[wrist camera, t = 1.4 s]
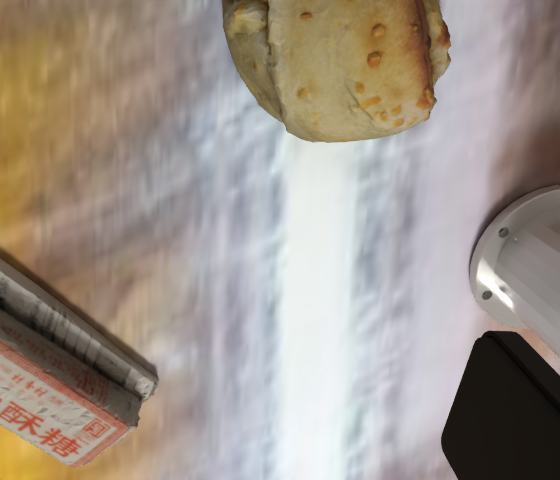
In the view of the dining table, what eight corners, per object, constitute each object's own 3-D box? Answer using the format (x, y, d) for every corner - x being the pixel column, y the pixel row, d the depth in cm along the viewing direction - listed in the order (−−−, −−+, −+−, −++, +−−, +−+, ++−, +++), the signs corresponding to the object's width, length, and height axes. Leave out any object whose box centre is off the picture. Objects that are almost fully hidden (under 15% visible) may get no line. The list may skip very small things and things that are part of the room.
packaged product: (161, 420, 37) (65, 494, 39) (164, 375, 42) (77, 444, 43) (-65, 261, 30) (-173, 362, 31) (-33, 227, 34) (-129, 317, 35)
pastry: (474, 32, 34) (552, 42, 26) (345, 177, 36) (384, 221, 29) (318, -147, 28) (363, -196, 21) (181, 41, 31) (180, 54, 24)
